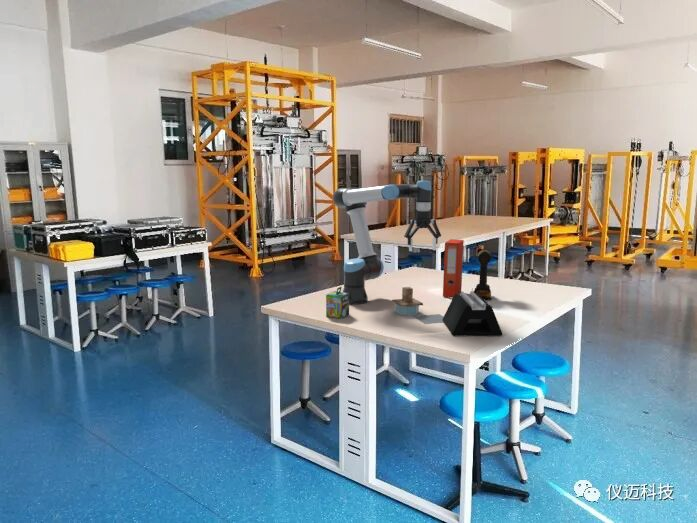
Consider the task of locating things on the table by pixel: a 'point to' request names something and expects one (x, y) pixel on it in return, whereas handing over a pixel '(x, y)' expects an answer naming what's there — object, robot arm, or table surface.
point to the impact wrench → (483, 275)
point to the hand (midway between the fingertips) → (422, 250)
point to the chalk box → (337, 304)
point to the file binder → (453, 267)
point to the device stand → (471, 317)
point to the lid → (407, 298)
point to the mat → (430, 318)
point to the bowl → (407, 310)
